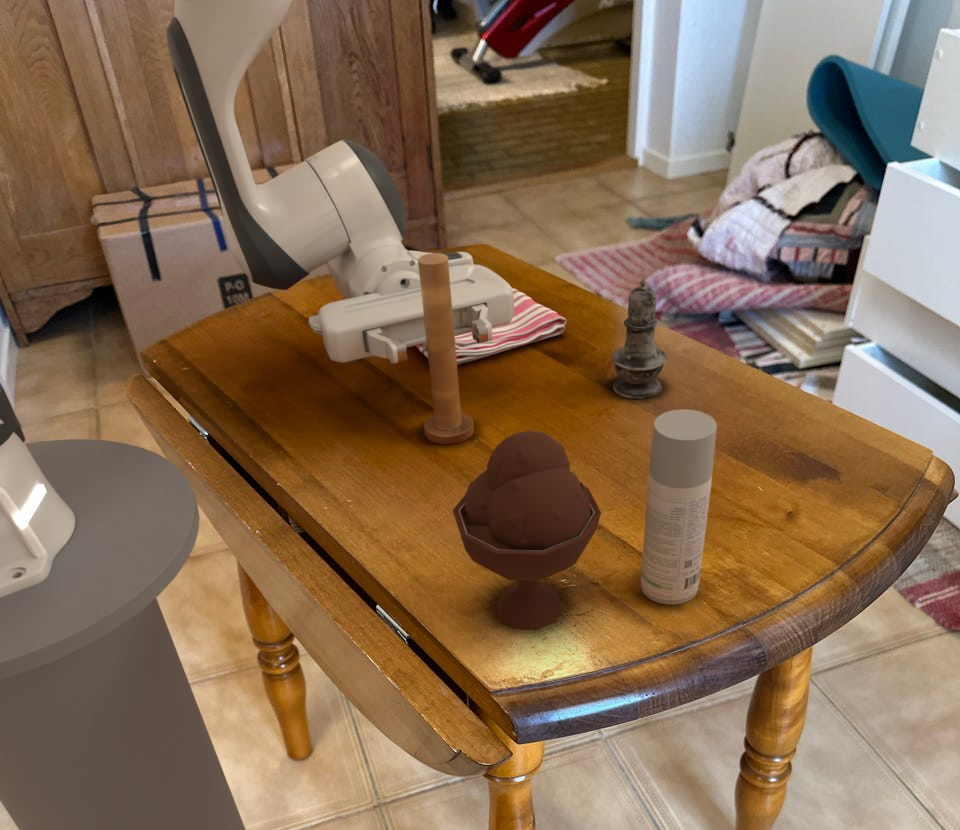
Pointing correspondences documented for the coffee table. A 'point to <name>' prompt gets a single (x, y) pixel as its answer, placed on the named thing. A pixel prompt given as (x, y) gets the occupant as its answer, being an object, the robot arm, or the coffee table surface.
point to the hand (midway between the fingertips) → (443, 344)
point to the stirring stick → (441, 353)
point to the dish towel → (510, 331)
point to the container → (677, 505)
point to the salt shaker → (639, 348)
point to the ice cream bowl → (527, 524)
